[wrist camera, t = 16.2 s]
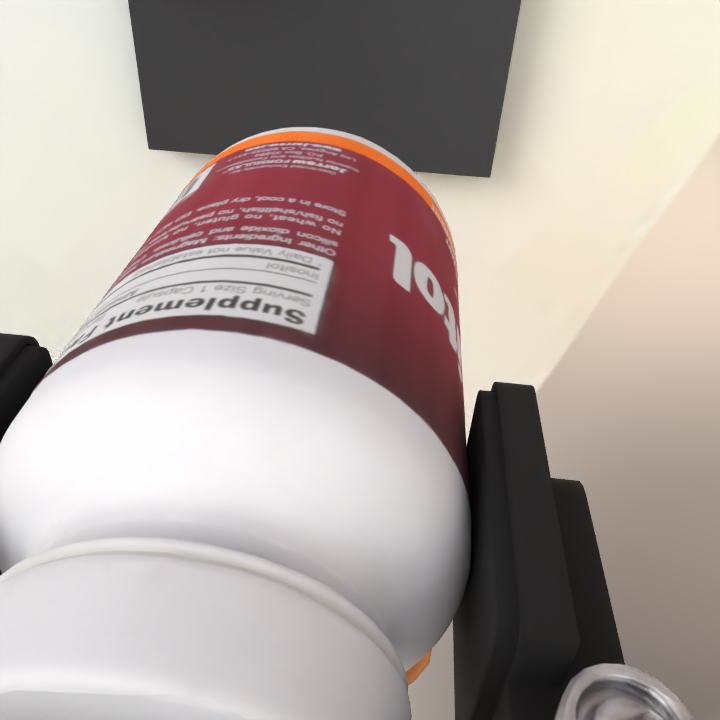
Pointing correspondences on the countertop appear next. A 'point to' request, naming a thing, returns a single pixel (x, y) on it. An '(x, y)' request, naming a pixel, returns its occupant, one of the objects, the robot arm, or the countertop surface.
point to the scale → (328, 74)
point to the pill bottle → (247, 456)
